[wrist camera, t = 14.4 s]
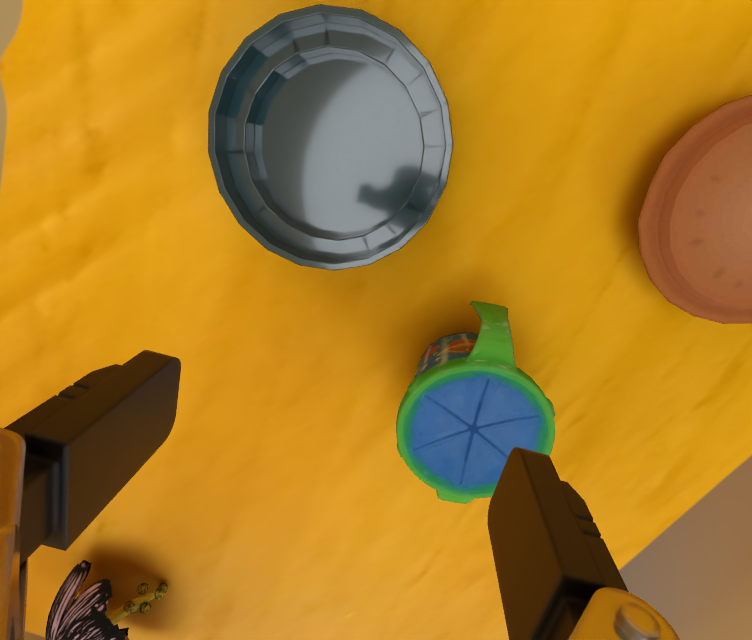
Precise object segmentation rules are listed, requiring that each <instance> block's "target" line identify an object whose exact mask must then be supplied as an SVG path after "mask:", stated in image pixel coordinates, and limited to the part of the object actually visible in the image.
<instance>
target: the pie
mask: <svg viewBox="0 0 752 640" xmlns="http://www.w3.org/2000/svg"><path fill="white" fill-rule="evenodd" d="M638 234H639V246H640V254H641V257H642V260H643V262H644V265H645V267H646V270H647V273H648V275H649V278H650V280H651V281H652V282H653V284H654V285H655V286H656V287H657V288H658V290H659V291H660V292H661V293H662V294H663V295H664V297H665V298H666V299H667V300H668V301H669V302H670V303H672V304H674V305H675V306H677V307H679V308H681V309H682V310H684V311H686V312H688V313H689V314H691V315H693V316H696V317H700V318H704V319H707V320H711V321H715V322H719V323H723V324H741V323H752V95H750V96H747V97H744V98H741V99H738V100H735V101H732V102H729V103H726V104H724V105H722V106H721V107H720V108H718V109H717V110H715V111H714V112H712V113H711V114H709V115H708V116H706V117H705V118H703V119H702V120H701V121H699V122H698V123H696V124H695V125H693V126H692V127H691V128H690V129H689V130H688V131H687V132H686V133H685V134H684V135H683V136H682V137H681V138H680V139H679V141H678V142H677V143H676V144H675V145H674V146H673V147H672V148H671V149H670V150H669V151H668V152H667V153H666V154H665V155H664V157H663V159H662V161H661V163H660V165H659V167H658V169H657V171H656V174H655V176H654V178H653V180H652V182H651V184H650V186H649V188H648V191H647V194H646V197H645V200H644V203H643V206H642V209H641V212H640V216H639V219H638Z"/></svg>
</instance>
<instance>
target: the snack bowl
mask: <svg viewBox="0 0 752 640" xmlns="http://www.w3.org/2000/svg"><path fill="white" fill-rule="evenodd" d="M452 149H453V139H452V131H451V123H450V115H449V107H448V101H447V99H446V97H445V95H444V92H443V90H442V88H441V86H440V84H439V81H438V79H437V77H436V75H435V73H434V70H433V68H432V66H431V64H430V63H429V61H428V60H427V59H426V58H425V56H424V55H423V54H422V53H421V52H420V51H419V50H418V49H417V48H416V47H415V46H414V45H413V43H412V42H411V41H410V40H409V39H408V38H407V37H406V36H405V35H404V34H403V33H402V32H401V30H399V29H397V28H396V27H394V26H392V25H390V24H388V23H386V22H384V21H382V20H381V19H379V18H377V17H375V16H373V15H371V14H369V13H367V12H365V11H364V10H361V9H354V8H346V7H338V6H330V5H322V4H320V5H315V6H310V7H306V8H302V9H298V10H294V11H290V12H286V13H282V14H280V15H277V16H276V17H275V18H273V19H272V20H270V21H269V22H267V23H266V24H264V25H263V26H262V27H260V28H259V29H257V30H256V31H254V32H253V33H252V34H250V35H249V36H247V37H246V38H245V39H244V40H243V42H242V43H241V45H240V46H239V47H238V49H237V50H236V52H235V53H234V54H233V56H232V57H231V59H230V60H229V61H228V63H227V64H226V66H225V67H224V68H223V70H222V71H221V74H220V77H219V80H218V83H217V86H216V89H215V93H214V96H213V99H212V102H211V105H210V109H209V124H208V152H209V157H210V161H211V164H212V168H213V171H214V175H215V179H216V182H217V186H218V189H219V192H220V194H221V195H222V197H223V198H224V200H225V202H226V203H227V205H228V207H229V208H230V210H231V212H232V213H233V215H234V216H235V218H236V220H237V221H238V223H239V224H240V225H241V226H242V227H243V228H244V229H245V230H246V231H247V232H248V233H249V234H251V235H252V236H253V237H254V238H255V239H256V240H257V241H258V242H259V243H260V244H261V245H263V246H264V247H265V248H266V249H267V250H269V251H271V252H273V253H275V254H277V255H279V256H281V257H283V258H286V259H288V260H290V261H292V262H294V263H296V264H298V265H301V266H308V267H314V268H321V269H328V270H341V269H347V268H353V267H359V266H365V265H369V264H372V263H374V262H376V261H378V260H380V259H382V258H383V257H385V256H387V255H389V254H391V253H393V252H395V251H397V250H399V249H401V248H402V247H403V246H404V245H405V244H406V243H407V242H408V241H409V240H410V239H411V238H412V237H413V236H414V235H415V234H416V233H417V232H418V231H419V230H420V229H421V228H422V227H423V226H424V225H425V224H426V223H427V222H428V220H429V218H430V216H431V214H432V213H433V211H434V209H435V207H436V205H437V203H438V201H439V199H440V197H441V195H442V193H443V191H444V189H445V187H446V184H447V178H448V172H449V166H450V161H451V155H452Z"/></svg>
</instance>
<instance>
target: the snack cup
mask: <svg viewBox="0 0 752 640" xmlns="http://www.w3.org/2000/svg"><path fill="white" fill-rule="evenodd" d="M470 305H472V306H473V307H474V309H475V311H476V312H477V314H478V316H479V318H480V320H481V326H480V330H479V335H476V334H474V333H463V334H453V335H449V336H445V337H443V338H441V339H439V340H438V341H436V342H435V343H433V344H431V345H430V346H429V347H428V349H427V350H426V351H425V353H424V355H423V356H422V358H421V360H420V362H419V365H418V367H417V370H416V373H415V375H414V378H413V381H412V382H411V384H410V385H409V387H408V390H407V392H406V393H405V395H404V397H403V399H402V401H401V403H400V407H399V410H398V415H397V422H396V433H397V448H398V451H399V454H400V456H401V457H402V458H403V459H404V461H405V463H406V464H407V466H408V467H409V469H410V470H411V471H412V472H413V473H414V474H415V475H416V476H417V477H418V478H419V479H420V480H422V481H423V482H424V483H426V484H427V485H429V486H430V487H432V488H434V489H436V490H437V494H438V498H439V499H441V500H445V501H449V502H455V503H465V504H467V503H469V502H471V501H472V500H473V499H474V498H486V497H492V496H493V493H494V491H495V488H496V486H497V483H498V481H499V478H500V476H501V473H502V471H503V468H504V466H505V463H506V461H507V459H508V456H509V454H510V452H511V450H512V449H513V448H514V447H519V448H523V449H527V450H531V451H535V452H539V453H542V454H546V455H548V456H549V455H550V454H551V450H552V447H553V443H554V437H555V423H554V416H555V412H554V408H553V405H552V402H551V401H550V400H549V399H548V398H546V397H545V395H544V393H543V392H542V390H541V389H540V388H539V386H538V385H537V384H536V383H535V382H534V381H533V380H532V378H531V377H529V376H528V375H527V374H526V373H525V372H523V371H522V370H520V369H519V368H517V367H516V365H515V361H514V352H513V344H512V337H511V330H510V324H509V320H508V309H507V308H506V307H504V306H500V305H495V304H491V303H485V302H478V301H471V302H470Z"/></svg>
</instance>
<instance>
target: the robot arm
mask: <svg viewBox="0 0 752 640" xmlns="http://www.w3.org/2000/svg"><path fill="white" fill-rule="evenodd" d="M180 371H181V363H180V360H179V359H178V358H176V357H172V356H168V355H164V354H160V353H156V352H153V351H149V350H145V351H142V352H141V353H139V354H138V355H136V356H135V357H134V358H132V359H131V360H129V361H128V362H126V363H125V364H123V365H122V366H121V365H117V364H115V365H112V366H108V367H105V368H102V369H99V370H96V371H92V372H91V373H89V374H87V375H86V376H84V377H83V378H81V379H80V380H78V381H77V382H75V383H74V385H73V386H71V385H70V386H69V387H67V388H66V389H64V390H63V391H61V392H60V393H59V395H58V396H56V395H55V396H53V397H52V398H50V399H49V400H47V401H46V402H44V403H42V404H41V405H39V406H38V407H36V408H35V409H33V410H32V411H30V412H28V413H27V414H25V415H24V416H22V417H21V418H19V419H18V420H16V421H15V422H13V423H11V424H10V425H8V426H7V427H5V428H4V429H3V428H0V640H24V632H25V615H26V598H27V580H28V557H29V556H30V555H31V554H32V553H33V552H34V551H35V550H36V549H37V548H38V547H39V546H40V545H41V544H42V545H45V546H49V547H53V548H57V549H61V550H65V551H66V550H67V549H68V547H69V546H70V545H71V544H72V543H73V542H74V541H75V540H76V539H77V538H78V536H79V535H80V534H81V533H82V532H83V531H84V530H85V529H86V528H87V527H88V525H89V524H90V523H91V522H92V521H93V520H94V519H95V518H96V517H97V515H98V514H99V513H100V512H101V511H102V510H103V509H104V508H105V507H106V506H107V504H108V503H109V502H110V501H111V500H112V499H113V498H114V497H115V496H116V495H117V493H118V492H119V491H120V490H121V489H122V488H123V487H124V486H125V485H126V484H127V482H128V481H129V480H130V479H131V478H132V477H133V476H134V475H135V474H136V472H137V471H138V470H139V469H140V468H141V467H142V466H143V465H144V464H145V463H146V461H147V460H148V459H149V458H150V457H151V456H152V455H153V454H154V453H155V452H156V450H157V449H158V448H159V447H160V446H161V445H162V444H163V443H164V441H165V440H166V439H167V437H168V436H169V434H170V432H171V429H172V427H173V424H174V421H175V417H176V409H177V399H178V390H179V381H180ZM488 529H489V535H490V540H491V545H492V550H493V556H494V561H495V566H496V572H497V577H498V582H499V588H500V593H501V598H502V603H503V609H504V614H505V619H506V625H507V630H508V635H509V640H680V639H679V637H678V635H677V634H676V632H675V631H674V629H673V628H672V627H671V625H670V624H669V623H668V622H667V621H666V619H665V618H664V617H662V615H661V614H660V613H659V612H657V611H656V610H655V609H654V608H653V607H652V606H650V605H649V604H648V603H646V602H645V601H643V600H642V599H640V598H639V597H637V596H635V595H633V594H631V593H629V592H628V590H627V588H626V586H625V584H624V582H623V579H622V577H621V575H620V573H619V571H618V569H617V567H616V565H615V563H614V561H613V559H612V557H611V555H610V553H609V551H608V549H607V546H606V544H605V542H604V540H603V539H601V538H600V536H601V534H600V532H599V530H598V528H597V526H596V524H595V523H594V522H593V518H592V516H591V514H590V512H589V510H588V507H587V505H586V503H585V501H584V500H583V499H582V498H581V497H580V495H579V494H578V493H577V492H576V491H575V490H574V489H573V488H572V487H571V486H570V485H569V483H568V482H564V481H560V479H559V477H558V474H557V472H556V470H555V468H554V465H553V463H552V461H551V459H550V457H549V456H548V455H546V454H542V453H539V452H535V451H531V450H527V449H523V448H519V447H514V448H513V449H512V450H511V452H510V454H509V456H508V459H507V461H506V463H505V466H504V468H503V471H502V473H501V476H500V478H499V481H498V483H497V486H496V488H495V491H494V493H493V496H492V498H491V501H490V505H489V510H488Z"/></svg>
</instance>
